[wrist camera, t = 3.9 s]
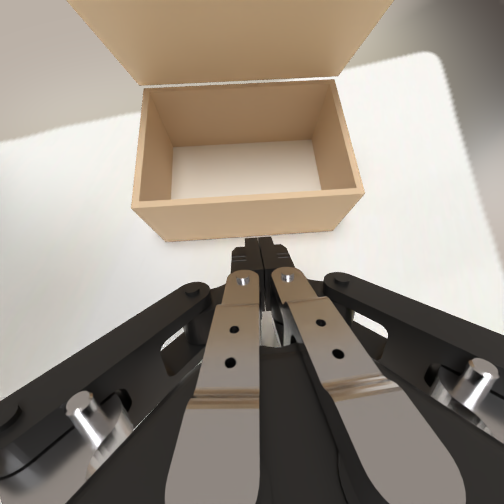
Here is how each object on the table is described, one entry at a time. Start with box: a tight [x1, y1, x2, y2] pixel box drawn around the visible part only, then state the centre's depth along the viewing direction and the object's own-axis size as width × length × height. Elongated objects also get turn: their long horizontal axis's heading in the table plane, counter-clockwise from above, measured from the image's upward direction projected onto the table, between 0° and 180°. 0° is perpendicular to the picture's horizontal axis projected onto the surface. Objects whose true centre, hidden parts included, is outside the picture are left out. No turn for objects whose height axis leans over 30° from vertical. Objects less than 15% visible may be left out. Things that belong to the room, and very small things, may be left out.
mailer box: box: [131, 79, 365, 242], centre depth 25 cm, size 20×14×8 cm
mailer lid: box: [67, 0, 394, 86], centre depth 16 cm, size 21×14×1 cm
